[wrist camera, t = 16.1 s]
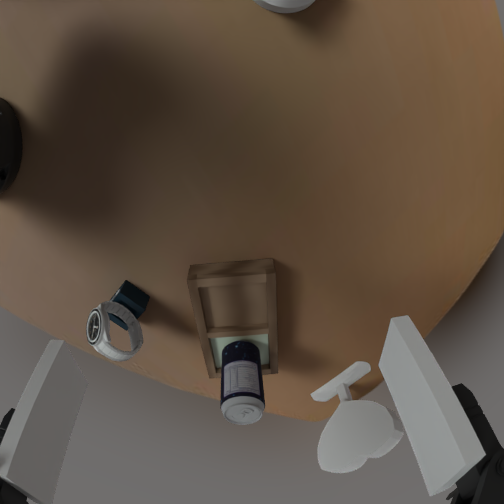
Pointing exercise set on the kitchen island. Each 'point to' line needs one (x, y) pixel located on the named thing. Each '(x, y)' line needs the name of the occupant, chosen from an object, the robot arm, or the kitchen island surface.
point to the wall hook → (284, 5)
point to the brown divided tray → (235, 309)
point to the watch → (118, 321)
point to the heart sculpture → (354, 425)
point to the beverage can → (241, 383)
